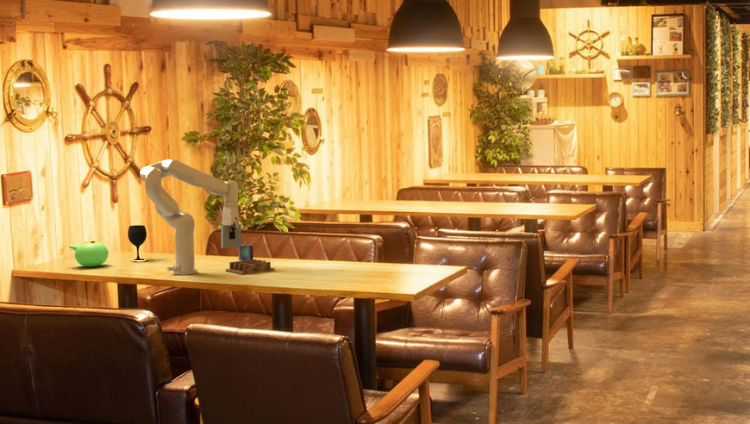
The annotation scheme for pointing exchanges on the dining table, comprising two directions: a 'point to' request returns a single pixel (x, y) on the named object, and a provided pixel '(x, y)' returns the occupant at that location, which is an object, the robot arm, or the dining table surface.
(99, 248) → the green teapot
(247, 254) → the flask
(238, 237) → the plate
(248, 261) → the rack
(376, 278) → the dining table surface
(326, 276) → the dining table surface
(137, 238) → the wine glass
